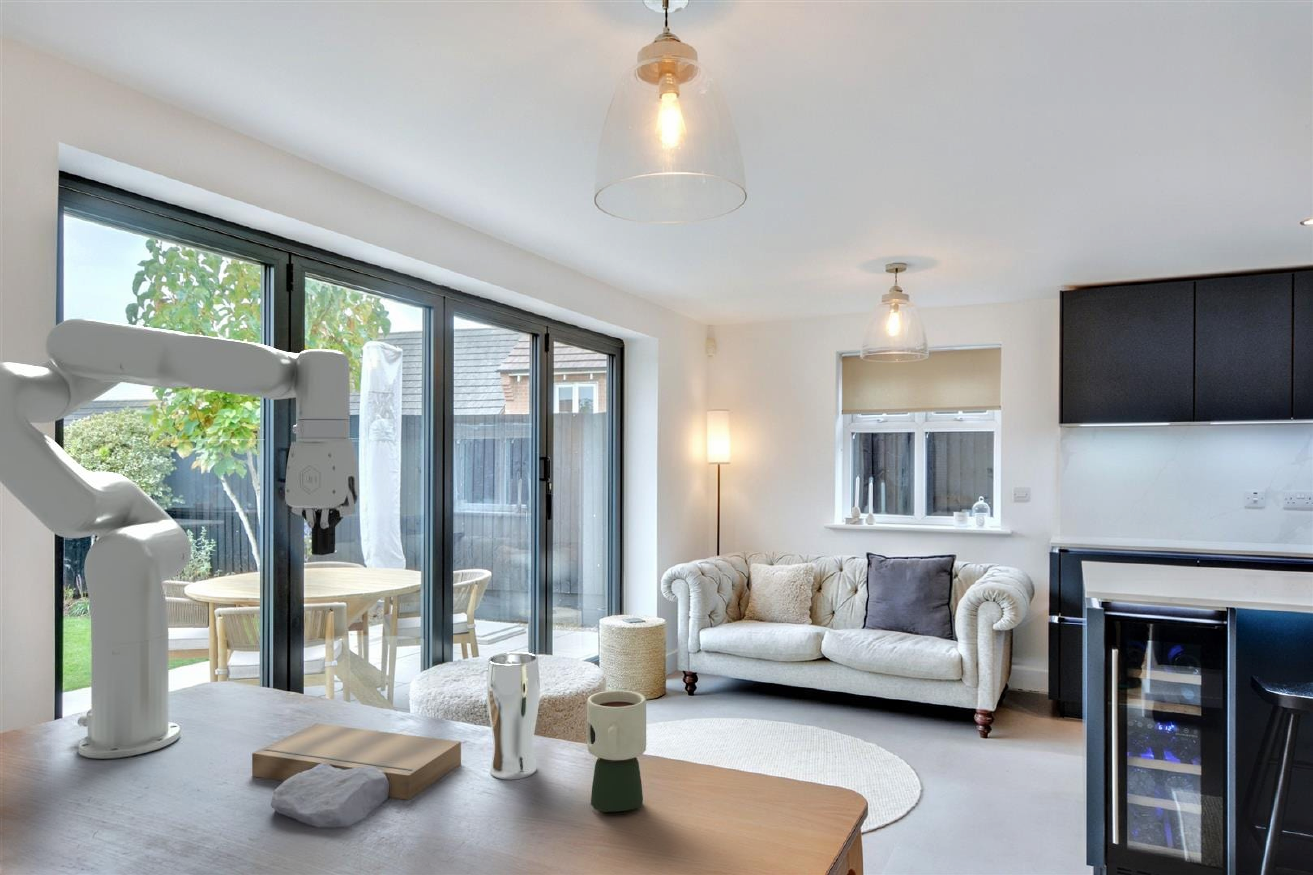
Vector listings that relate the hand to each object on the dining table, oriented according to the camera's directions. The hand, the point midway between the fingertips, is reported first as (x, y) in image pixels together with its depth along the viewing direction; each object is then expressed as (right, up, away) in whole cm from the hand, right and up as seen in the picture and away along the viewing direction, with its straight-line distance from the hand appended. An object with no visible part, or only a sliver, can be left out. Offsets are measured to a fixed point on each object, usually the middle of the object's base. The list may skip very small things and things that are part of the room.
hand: (323, 553), depth 125 cm
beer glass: (+31, -27, -14) cm, 44 cm away
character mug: (+45, -27, -25) cm, 59 cm away
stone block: (+11, -28, -25) cm, 39 cm away
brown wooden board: (+10, -27, -14) cm, 32 cm away
